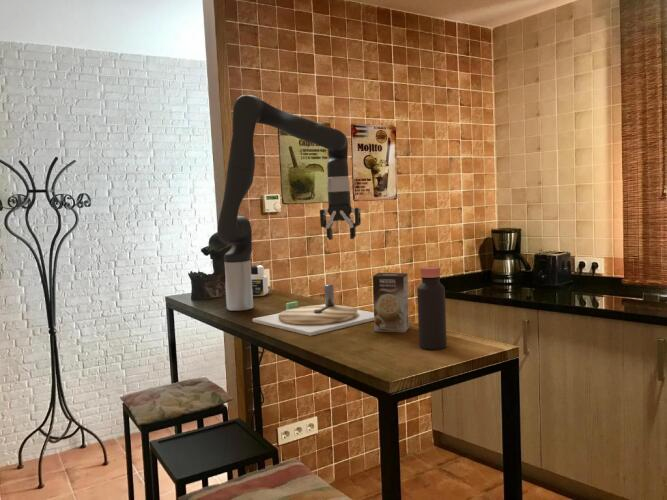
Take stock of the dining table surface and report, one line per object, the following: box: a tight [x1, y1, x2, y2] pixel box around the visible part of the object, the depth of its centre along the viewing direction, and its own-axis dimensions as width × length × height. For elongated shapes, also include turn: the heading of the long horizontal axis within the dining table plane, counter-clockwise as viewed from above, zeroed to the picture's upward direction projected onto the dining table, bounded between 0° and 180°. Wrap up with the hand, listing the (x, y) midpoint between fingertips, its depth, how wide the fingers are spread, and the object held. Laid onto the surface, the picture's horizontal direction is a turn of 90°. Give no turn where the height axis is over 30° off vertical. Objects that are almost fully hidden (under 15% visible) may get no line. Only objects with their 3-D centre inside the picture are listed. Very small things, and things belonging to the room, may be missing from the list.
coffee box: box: [372, 272, 410, 333], centre depth 167 cm, size 9×6×16 cm
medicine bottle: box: [251, 264, 269, 297], centre depth 240 cm, size 7×7×12 cm
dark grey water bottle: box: [416, 266, 448, 351], centre depth 146 cm, size 7×7×20 cm
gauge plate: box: [252, 300, 374, 337], centre depth 186 cm, size 30×30×4 cm
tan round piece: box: [278, 283, 358, 324], centre depth 185 cm, size 25×25×8 cm
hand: (341, 239), depth 199 cm, fingers open, 7 cm apart
